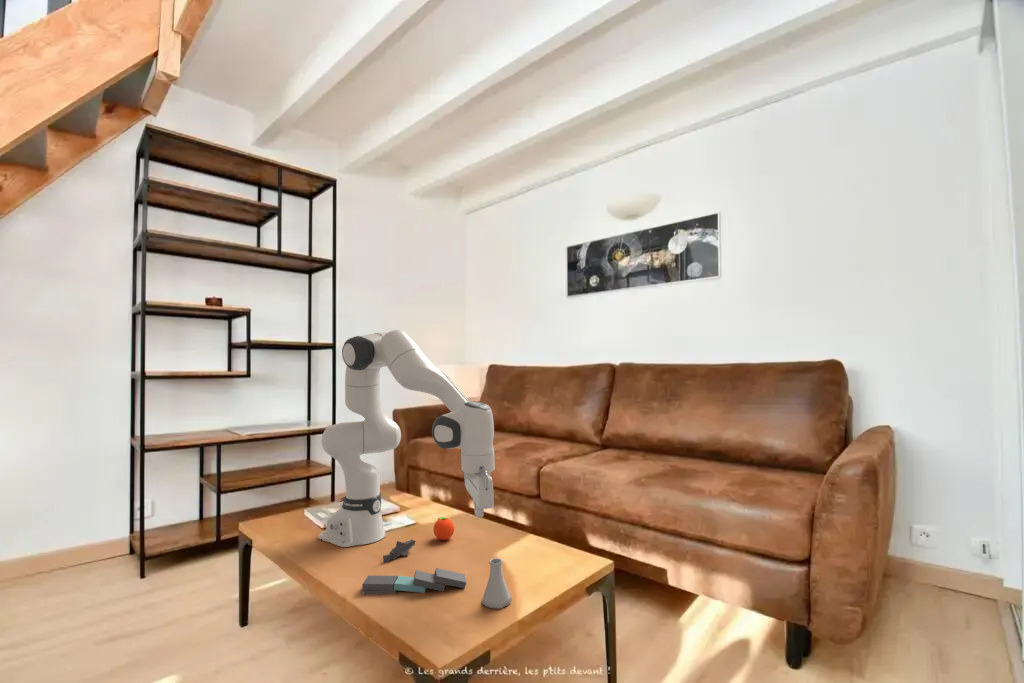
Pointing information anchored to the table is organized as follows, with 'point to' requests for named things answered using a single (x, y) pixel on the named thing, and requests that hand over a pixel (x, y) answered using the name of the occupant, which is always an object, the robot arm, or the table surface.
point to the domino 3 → (407, 585)
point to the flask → (496, 587)
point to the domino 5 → (450, 578)
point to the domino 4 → (427, 581)
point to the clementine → (443, 528)
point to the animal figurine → (399, 550)
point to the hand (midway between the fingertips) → (479, 515)
